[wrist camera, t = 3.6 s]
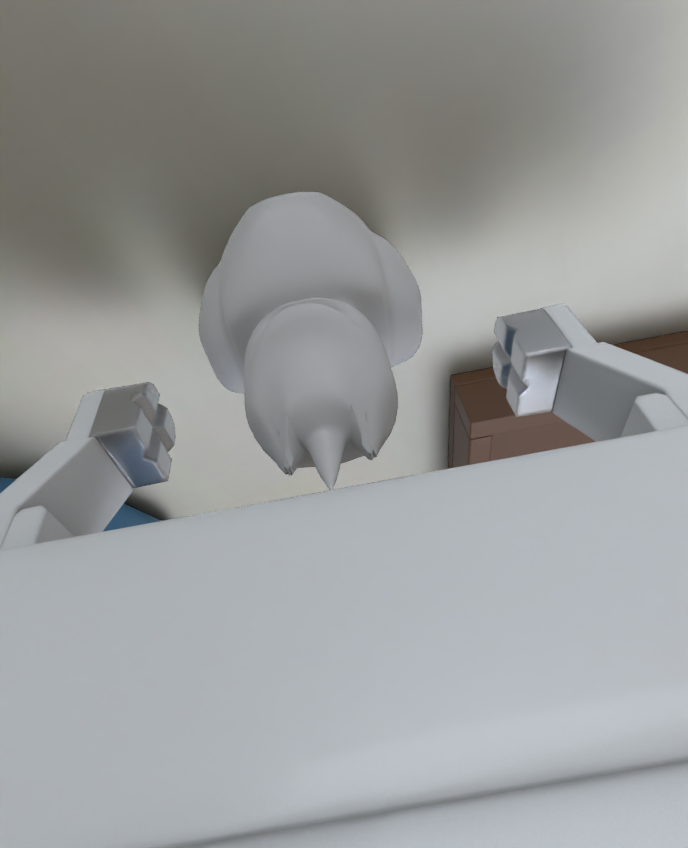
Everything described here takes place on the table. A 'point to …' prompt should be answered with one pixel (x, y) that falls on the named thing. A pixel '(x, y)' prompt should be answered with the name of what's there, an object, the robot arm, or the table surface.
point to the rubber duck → (311, 330)
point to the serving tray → (515, 436)
